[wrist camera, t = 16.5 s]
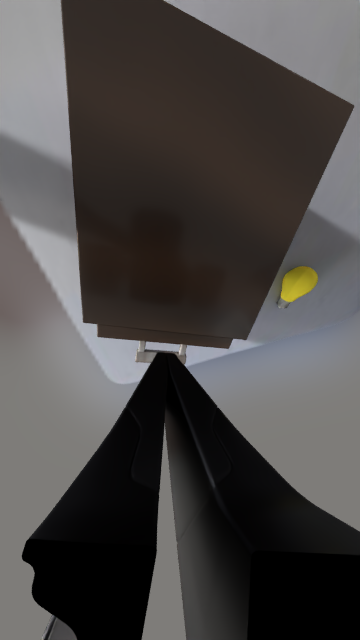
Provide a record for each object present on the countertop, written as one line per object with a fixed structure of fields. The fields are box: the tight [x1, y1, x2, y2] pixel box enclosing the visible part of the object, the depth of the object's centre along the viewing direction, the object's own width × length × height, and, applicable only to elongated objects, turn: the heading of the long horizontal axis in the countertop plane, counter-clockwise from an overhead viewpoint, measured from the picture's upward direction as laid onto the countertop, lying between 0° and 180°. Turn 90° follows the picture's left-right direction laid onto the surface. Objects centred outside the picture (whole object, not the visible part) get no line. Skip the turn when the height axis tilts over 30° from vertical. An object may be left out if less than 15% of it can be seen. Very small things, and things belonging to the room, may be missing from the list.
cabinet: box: [61, 0, 354, 340], centre depth 13 cm, size 14×13×9 cm
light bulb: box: [277, 266, 318, 309], centre depth 21 cm, size 3×6×4 cm, turn 174°
